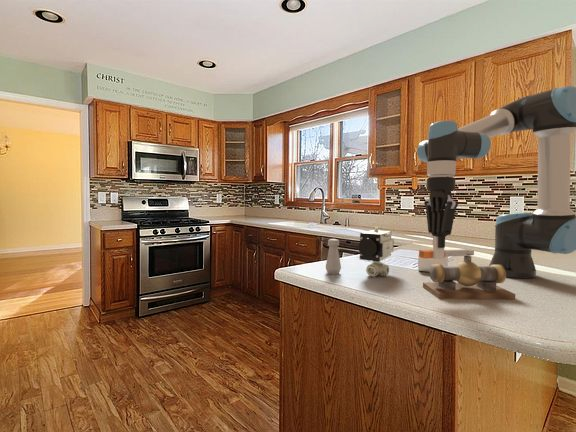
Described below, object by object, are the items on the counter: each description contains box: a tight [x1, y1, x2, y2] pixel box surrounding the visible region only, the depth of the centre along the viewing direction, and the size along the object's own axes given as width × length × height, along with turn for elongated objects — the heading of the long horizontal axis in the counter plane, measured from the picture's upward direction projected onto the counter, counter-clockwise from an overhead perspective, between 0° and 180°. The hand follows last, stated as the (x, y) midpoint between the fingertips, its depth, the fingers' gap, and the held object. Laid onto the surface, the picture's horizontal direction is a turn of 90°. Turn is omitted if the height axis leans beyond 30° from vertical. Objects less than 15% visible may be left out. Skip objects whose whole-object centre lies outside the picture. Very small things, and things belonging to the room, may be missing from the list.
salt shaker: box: [325, 238, 342, 276], centre depth 129 cm, size 6×6×13 cm
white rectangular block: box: [417, 255, 449, 273], centre depth 134 cm, size 12×10×8 cm
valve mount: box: [422, 255, 516, 300], centre depth 104 cm, size 22×12×11 cm, turn 89°
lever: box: [418, 248, 475, 259], centre depth 102 cm, size 18×3×2 cm, turn 104°
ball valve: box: [357, 227, 394, 278], centre depth 127 cm, size 18×8×18 cm, turn 147°
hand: (438, 258), depth 99 cm, fingers closed
